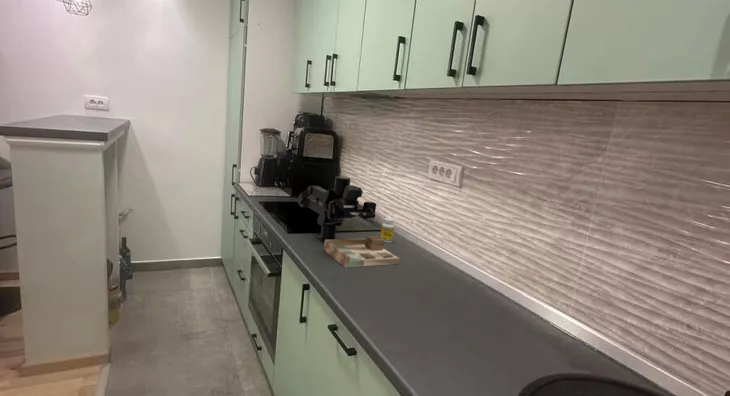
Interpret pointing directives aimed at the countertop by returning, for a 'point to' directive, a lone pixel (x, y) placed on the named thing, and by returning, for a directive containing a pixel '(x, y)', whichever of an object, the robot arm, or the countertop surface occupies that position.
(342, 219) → the robot arm
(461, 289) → the countertop surface
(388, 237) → the supplement bottle
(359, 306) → the countertop surface
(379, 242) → the walnut block
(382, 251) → the trap board
